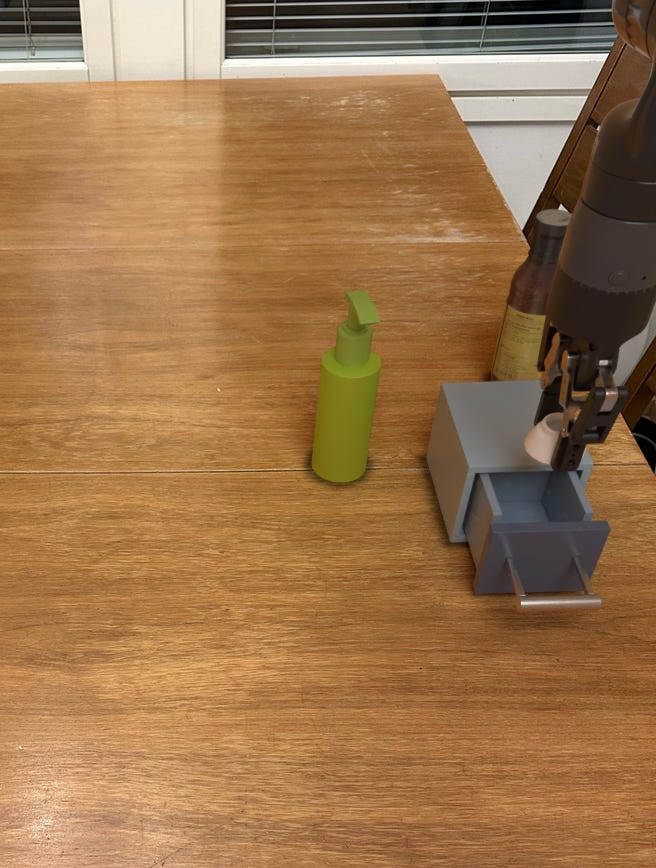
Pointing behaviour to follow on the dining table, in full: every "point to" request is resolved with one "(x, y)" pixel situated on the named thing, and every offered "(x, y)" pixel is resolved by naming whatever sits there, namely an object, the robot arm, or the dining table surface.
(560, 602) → the compartment
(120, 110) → the dining table surface
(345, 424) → the soap dispenser
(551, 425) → the white jar
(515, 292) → the sauce bottle
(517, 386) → the drawer unit
